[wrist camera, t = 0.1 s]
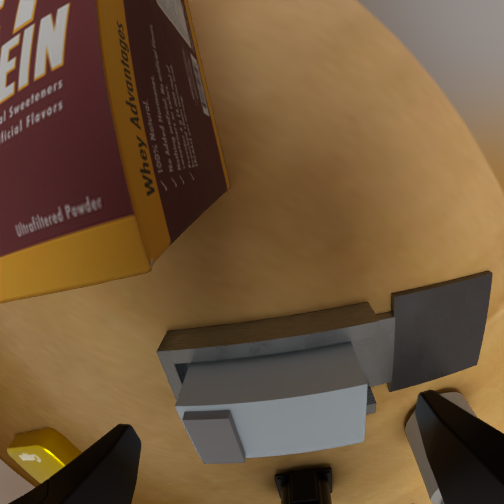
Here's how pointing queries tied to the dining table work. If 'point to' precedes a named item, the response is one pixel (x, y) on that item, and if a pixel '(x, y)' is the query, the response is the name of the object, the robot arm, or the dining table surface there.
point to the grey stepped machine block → (274, 404)
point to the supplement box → (99, 140)
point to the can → (419, 450)
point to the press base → (357, 336)
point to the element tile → (42, 452)
